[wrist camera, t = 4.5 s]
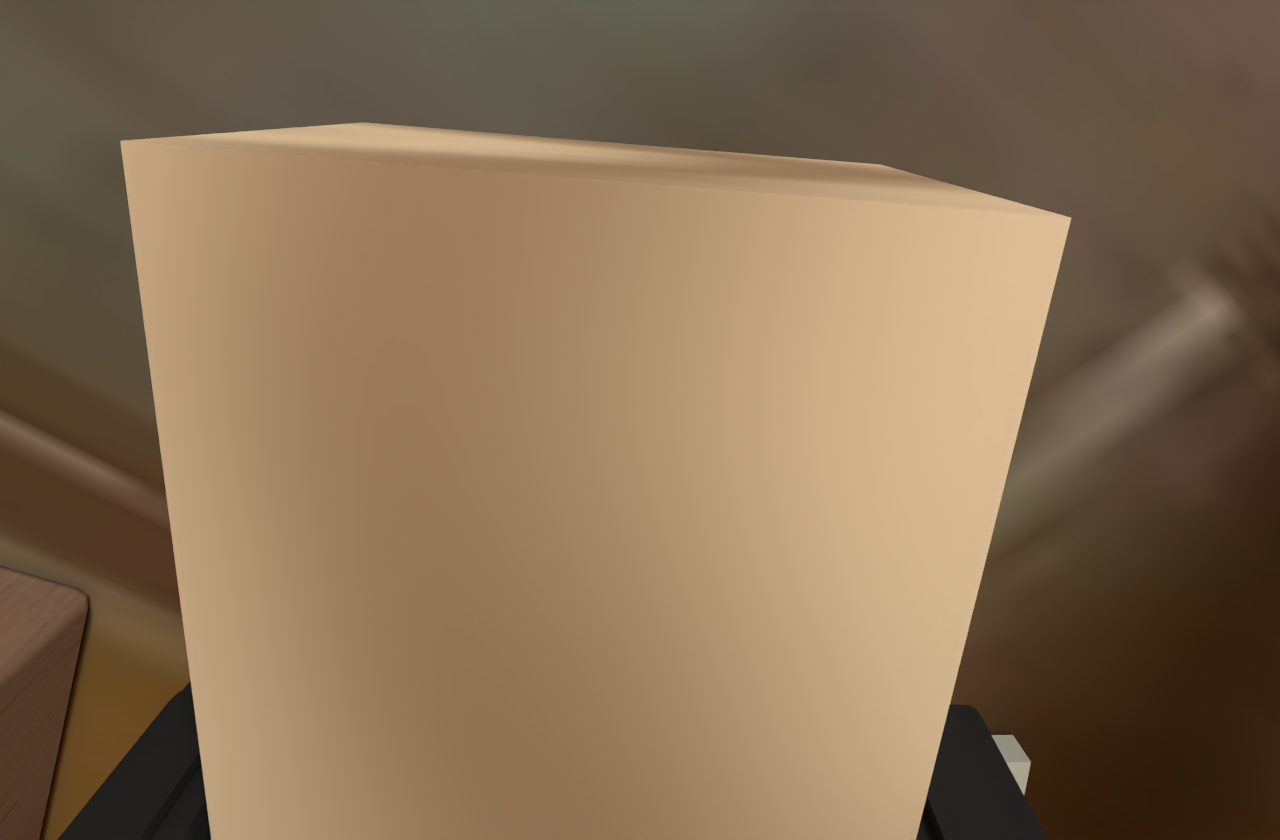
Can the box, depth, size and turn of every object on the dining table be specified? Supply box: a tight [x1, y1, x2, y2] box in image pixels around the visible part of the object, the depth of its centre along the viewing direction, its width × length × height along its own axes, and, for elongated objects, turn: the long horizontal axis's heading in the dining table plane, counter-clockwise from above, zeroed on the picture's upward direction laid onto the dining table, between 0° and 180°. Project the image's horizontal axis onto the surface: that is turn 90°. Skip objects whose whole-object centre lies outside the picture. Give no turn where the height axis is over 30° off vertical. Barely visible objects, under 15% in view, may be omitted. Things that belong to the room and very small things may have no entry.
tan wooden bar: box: [120, 123, 1071, 840], centre depth 8 cm, size 5×12×4 cm, turn 176°
